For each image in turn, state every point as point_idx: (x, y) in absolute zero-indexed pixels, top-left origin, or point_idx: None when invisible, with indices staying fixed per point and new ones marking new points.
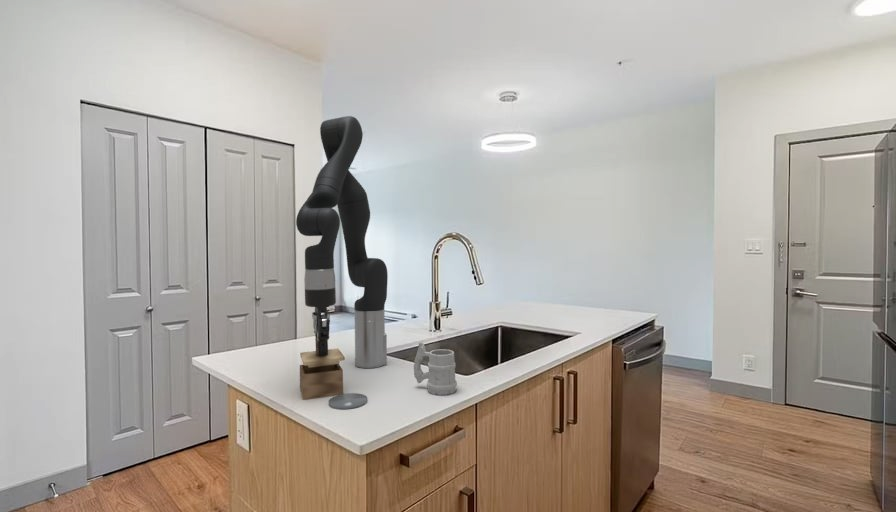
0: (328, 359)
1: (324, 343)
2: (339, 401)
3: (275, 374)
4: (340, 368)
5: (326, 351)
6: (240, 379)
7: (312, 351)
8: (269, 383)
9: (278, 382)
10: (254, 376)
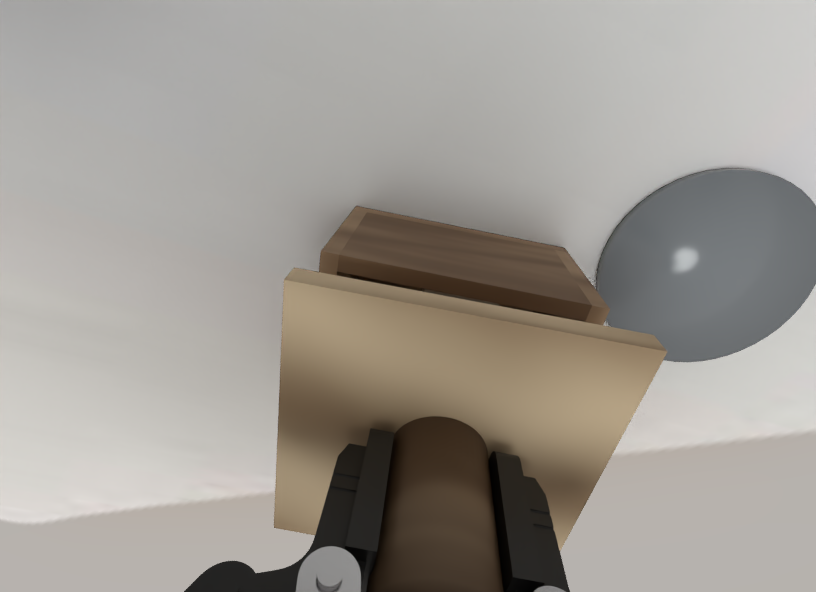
0: (606, 460)
1: (562, 588)
2: (694, 319)
3: (77, 401)
4: (550, 304)
5: (520, 482)
6: (111, 504)
7: (282, 468)
8: (209, 446)
9: (210, 419)
10: (84, 464)
